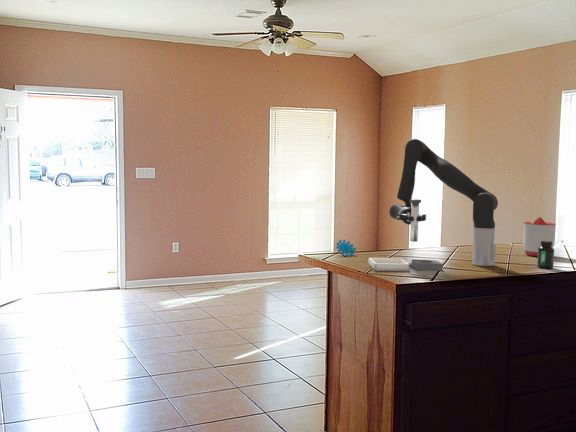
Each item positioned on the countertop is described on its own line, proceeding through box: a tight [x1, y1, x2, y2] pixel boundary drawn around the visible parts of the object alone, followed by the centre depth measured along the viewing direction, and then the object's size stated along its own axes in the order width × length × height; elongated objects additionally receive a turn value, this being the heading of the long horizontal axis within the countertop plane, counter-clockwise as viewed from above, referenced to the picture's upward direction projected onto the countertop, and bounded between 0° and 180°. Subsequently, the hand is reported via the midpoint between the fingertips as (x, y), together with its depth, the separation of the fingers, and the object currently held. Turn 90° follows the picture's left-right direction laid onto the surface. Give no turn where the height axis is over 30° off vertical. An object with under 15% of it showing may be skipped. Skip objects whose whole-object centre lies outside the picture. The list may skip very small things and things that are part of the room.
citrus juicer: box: [522, 216, 557, 257], centre depth 319 cm, size 16×17×20 cm
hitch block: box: [410, 258, 444, 272], centre depth 271 cm, size 11×11×3 cm
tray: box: [367, 257, 411, 272], centre depth 270 cm, size 15×17×3 cm
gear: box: [335, 239, 358, 257], centre depth 306 cm, size 11×6×10 cm
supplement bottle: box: [536, 241, 555, 270], centre depth 279 cm, size 7×7×12 cm
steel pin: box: [409, 198, 422, 243], centre depth 270 cm, size 5×5×18 cm
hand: (416, 219), depth 267 cm, fingers closed on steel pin, 3 cm apart
